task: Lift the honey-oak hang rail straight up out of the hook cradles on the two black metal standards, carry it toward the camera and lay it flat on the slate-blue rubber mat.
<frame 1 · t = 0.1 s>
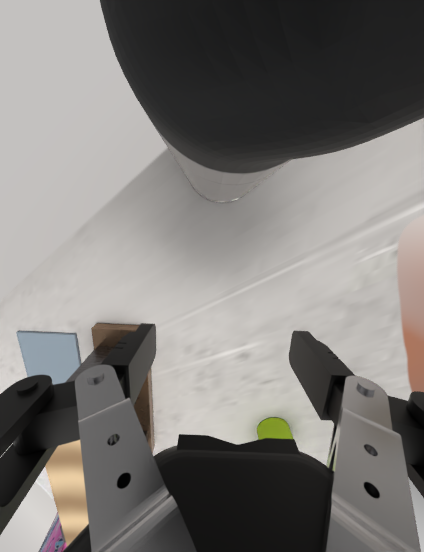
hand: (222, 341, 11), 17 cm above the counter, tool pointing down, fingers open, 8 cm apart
hook rack: (128, 391, 34), on the counter
slate mat: (61, 397, 35), on the counter
soap dispenser: (271, 430, 37), on the counter
gum box: (94, 485, 41), on the counter, touching slate mat
oak rail: (95, 458, 25), point 10 cm above the counter, touching hook rack
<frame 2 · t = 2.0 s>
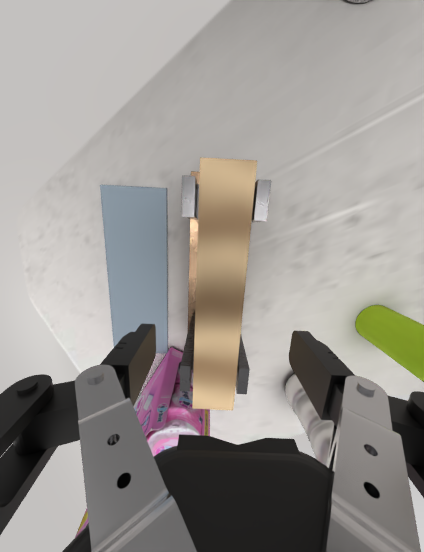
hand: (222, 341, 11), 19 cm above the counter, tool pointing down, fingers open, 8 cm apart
plastic bottle: (299, 381, 35), on the counter
hook rack: (216, 268, 30), on the counter
slate mat: (138, 277, 31), on the counter
soap dispenser: (371, 323, 33), on the counter
gum box: (161, 399, 36), on the counter, touching slate mat
oak rail: (218, 289, 20), point 10 cm above the counter, touching hook rack
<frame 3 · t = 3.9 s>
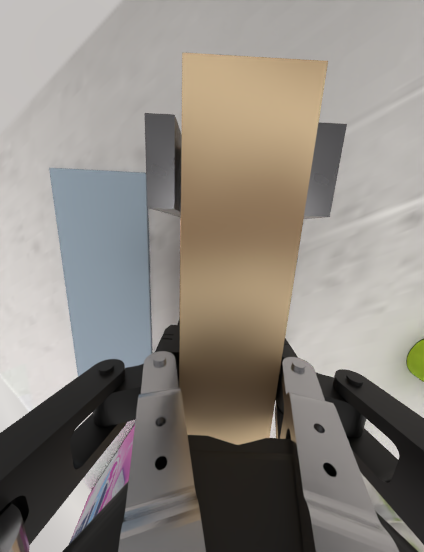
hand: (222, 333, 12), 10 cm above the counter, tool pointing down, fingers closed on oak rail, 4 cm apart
plastic bottle: (327, 432, 27), on the counter
hook rack: (218, 287, 22), on the counter
slate mat: (110, 299, 22), on the counter
gum box: (145, 454, 28), on the counter, touching slate mat
oak rail: (223, 336, 12), point 10 cm above the counter, touching gripper, hook rack
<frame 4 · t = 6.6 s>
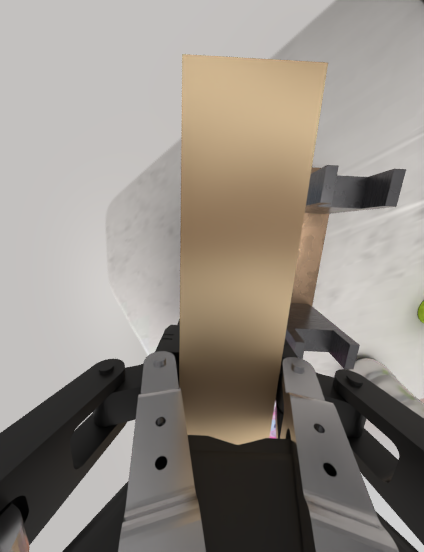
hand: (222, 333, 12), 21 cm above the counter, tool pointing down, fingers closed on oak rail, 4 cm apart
plastic bottle: (359, 368, 37), on the counter
hook rack: (290, 258, 32), on the counter
oak rail: (223, 337, 12), point 21 cm above the counter, touching gripper
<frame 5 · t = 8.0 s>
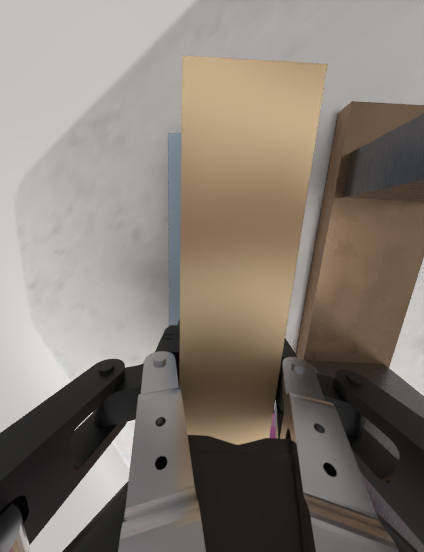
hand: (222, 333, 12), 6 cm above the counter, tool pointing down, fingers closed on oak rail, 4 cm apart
hook rack: (352, 284, 18), on the counter
slate mat: (218, 299, 18), on the counter
oak rail: (222, 337, 12), point 6 cm above the counter, touching gripper
when the fingers open (1 cm above the counter, at t = 9.3 s): oak rail drops 1 cm, resting on slate mat.
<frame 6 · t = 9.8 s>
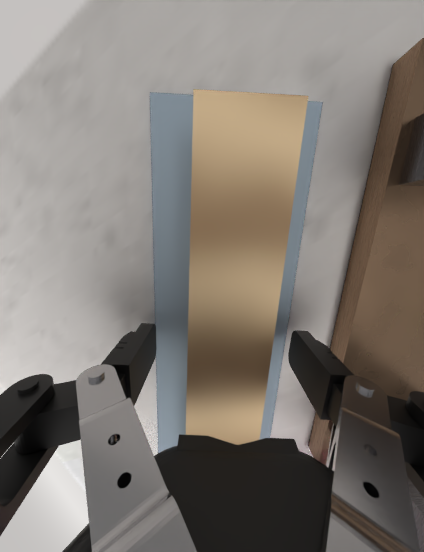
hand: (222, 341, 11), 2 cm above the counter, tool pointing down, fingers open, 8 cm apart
hook rack: (399, 303, 13), on the counter
slate mat: (221, 321, 14), on the counter
oak rail: (224, 324, 13), resting on slate mat
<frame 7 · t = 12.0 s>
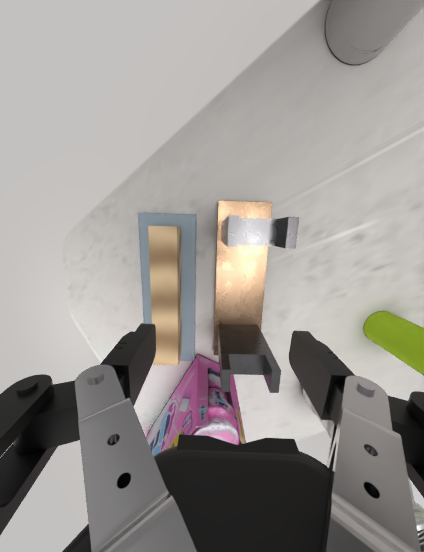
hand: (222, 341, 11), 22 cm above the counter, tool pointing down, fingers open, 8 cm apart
plastic bottle: (314, 383, 39), on the counter
hook rack: (239, 282, 34), on the counter
slate mat: (169, 292, 34), on the counter
soap dispenser: (377, 328, 36), on the counter
gum box: (187, 404, 39), on the counter, touching slate mat
oak rail: (169, 293, 34), resting on slate mat
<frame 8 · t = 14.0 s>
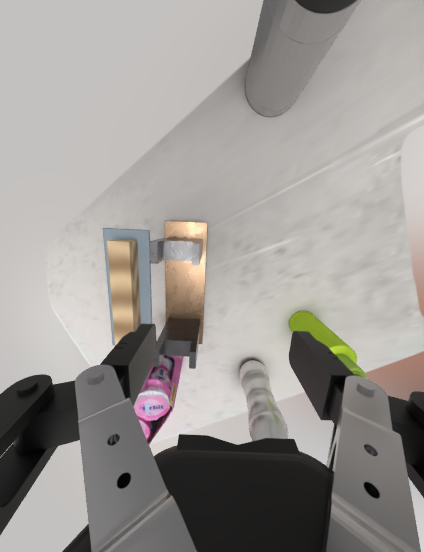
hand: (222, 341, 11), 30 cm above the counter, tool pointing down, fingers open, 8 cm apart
plastic bottle: (251, 367, 47), on the counter
hook rack: (185, 285, 42), on the counter
slate mat: (130, 291, 42), on the counter
soap dispenser: (300, 324, 44), on the counter
gum box: (148, 382, 48), on the counter, touching slate mat
oak rail: (130, 292, 42), resting on slate mat
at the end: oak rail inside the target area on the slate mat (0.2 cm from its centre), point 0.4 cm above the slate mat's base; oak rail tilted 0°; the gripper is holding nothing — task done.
